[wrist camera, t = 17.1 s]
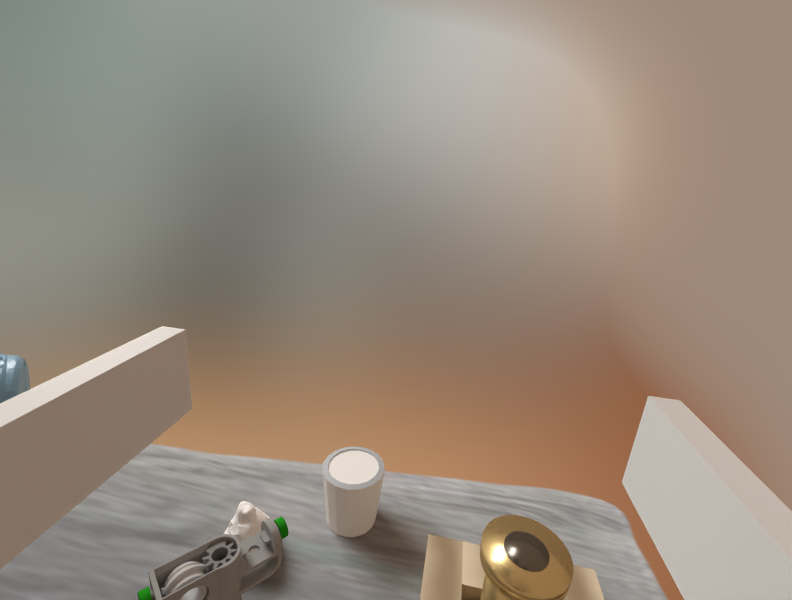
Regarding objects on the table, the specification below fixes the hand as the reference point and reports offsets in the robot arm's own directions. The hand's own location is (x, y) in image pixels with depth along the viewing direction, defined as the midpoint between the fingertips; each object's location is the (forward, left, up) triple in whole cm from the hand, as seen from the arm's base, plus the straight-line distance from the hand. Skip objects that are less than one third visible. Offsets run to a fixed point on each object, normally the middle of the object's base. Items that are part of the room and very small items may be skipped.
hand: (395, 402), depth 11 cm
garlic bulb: (-17, +19, -31) cm, 40 cm away
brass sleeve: (+8, +14, -31) cm, 35 cm away
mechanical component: (-14, +10, -31) cm, 36 cm away
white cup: (-8, +25, -31) cm, 41 cm away
